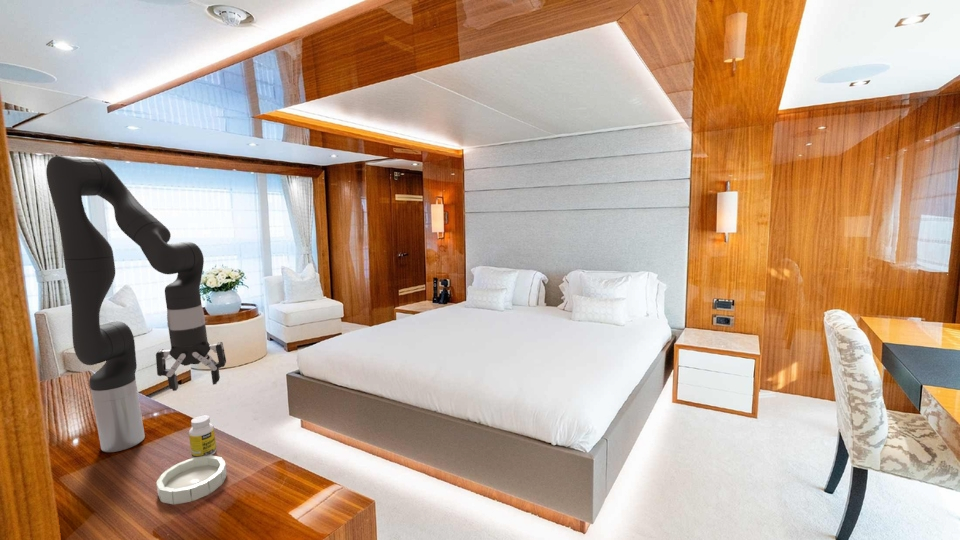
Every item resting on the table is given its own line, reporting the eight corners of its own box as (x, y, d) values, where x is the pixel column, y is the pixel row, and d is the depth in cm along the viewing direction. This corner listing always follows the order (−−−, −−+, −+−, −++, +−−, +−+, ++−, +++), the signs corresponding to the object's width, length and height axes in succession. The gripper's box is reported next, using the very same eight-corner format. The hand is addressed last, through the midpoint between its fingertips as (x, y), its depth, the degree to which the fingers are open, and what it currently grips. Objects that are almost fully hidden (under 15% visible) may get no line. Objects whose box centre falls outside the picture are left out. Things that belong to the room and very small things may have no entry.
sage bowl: (153, 484, 101) (152, 473, 100) (217, 460, 110) (215, 449, 109) (165, 512, 92) (163, 500, 91) (233, 483, 101) (232, 471, 100)
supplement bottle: (205, 461, 109) (200, 425, 108) (186, 459, 110) (181, 423, 109) (221, 449, 114) (217, 414, 113) (204, 447, 116) (199, 412, 114)
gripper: (222, 317, 113) (230, 376, 115) (156, 323, 107) (165, 385, 110) (217, 324, 106) (225, 387, 108) (146, 332, 100) (157, 398, 103)
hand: (195, 386), depth 109 cm, fingers open, 8 cm apart
